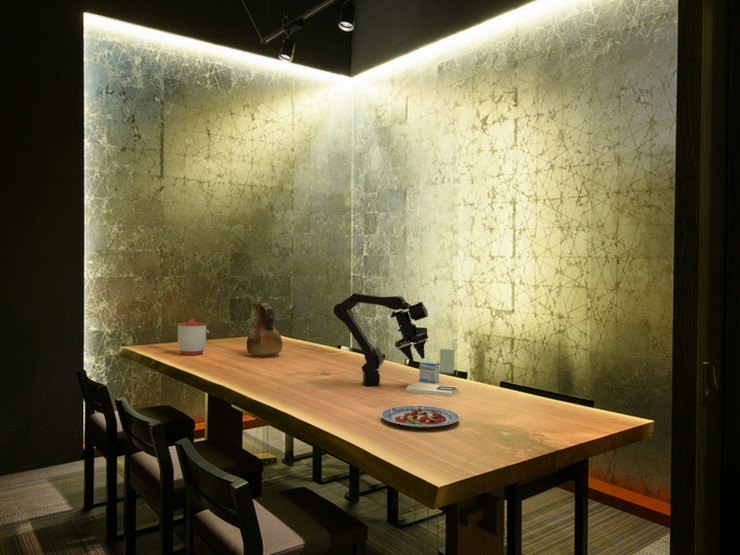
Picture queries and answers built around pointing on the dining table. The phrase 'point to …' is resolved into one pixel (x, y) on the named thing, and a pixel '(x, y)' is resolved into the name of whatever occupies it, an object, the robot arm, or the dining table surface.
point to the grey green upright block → (447, 360)
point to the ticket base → (432, 389)
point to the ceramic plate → (419, 416)
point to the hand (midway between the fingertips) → (417, 359)
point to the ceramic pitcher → (264, 333)
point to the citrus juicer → (192, 337)
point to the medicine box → (429, 372)
